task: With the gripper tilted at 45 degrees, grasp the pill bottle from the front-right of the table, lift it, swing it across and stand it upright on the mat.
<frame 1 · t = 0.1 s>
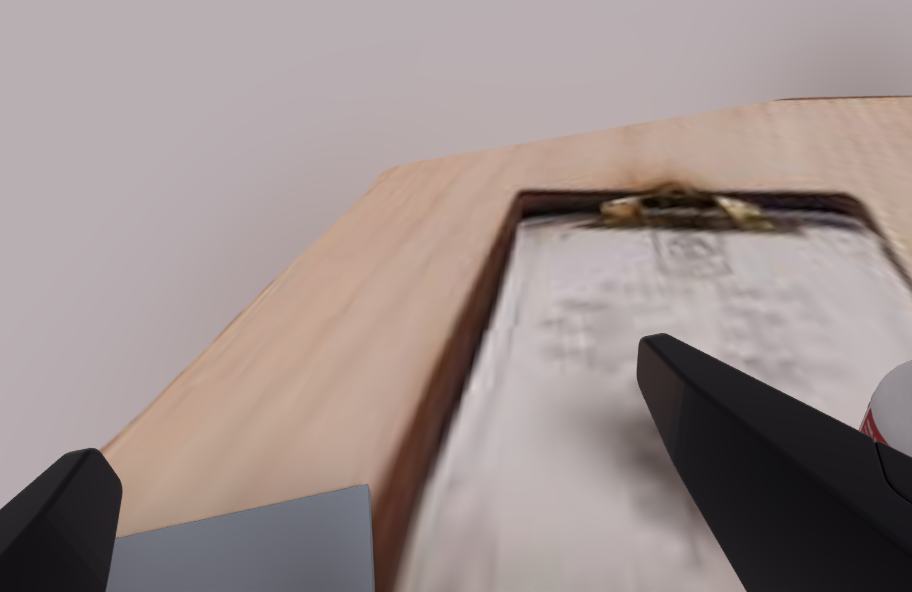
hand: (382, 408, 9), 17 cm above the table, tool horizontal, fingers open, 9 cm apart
pill bottle: (905, 569, 22), on the table
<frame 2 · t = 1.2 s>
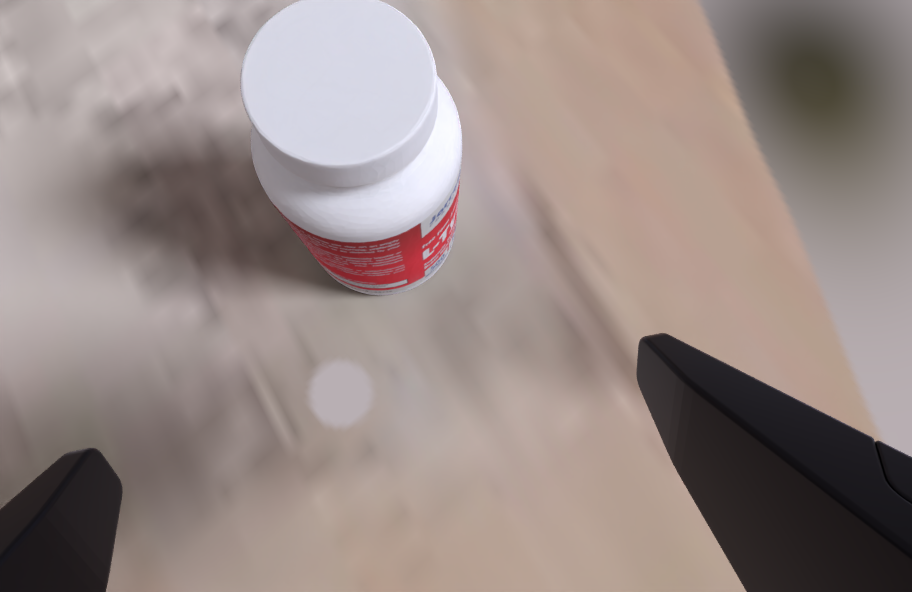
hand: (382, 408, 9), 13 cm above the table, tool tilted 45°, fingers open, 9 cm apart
pill bottle: (384, 229, 24), on the table
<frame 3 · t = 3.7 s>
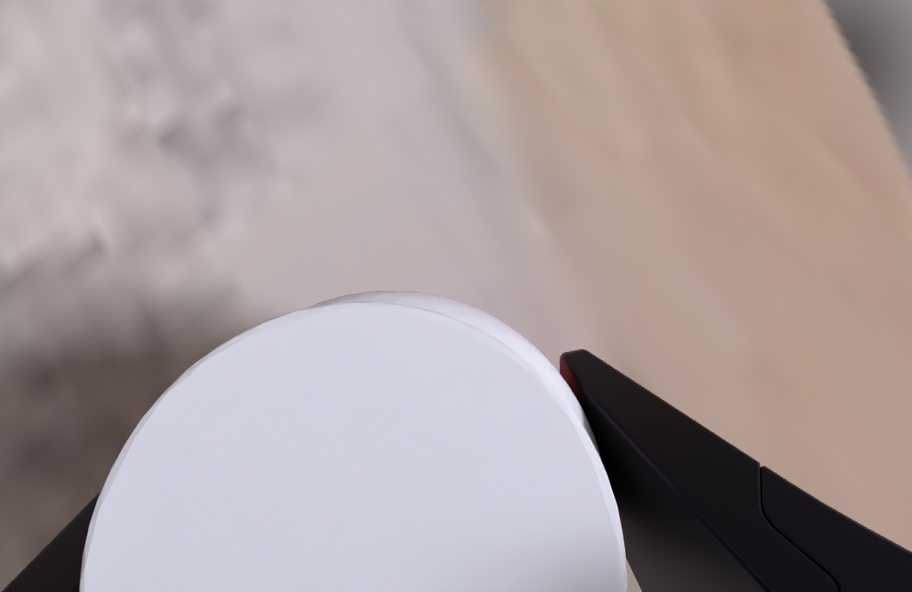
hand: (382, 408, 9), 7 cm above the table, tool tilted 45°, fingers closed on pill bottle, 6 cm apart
pill bottle: (414, 460, 16), on the table, touching gripper
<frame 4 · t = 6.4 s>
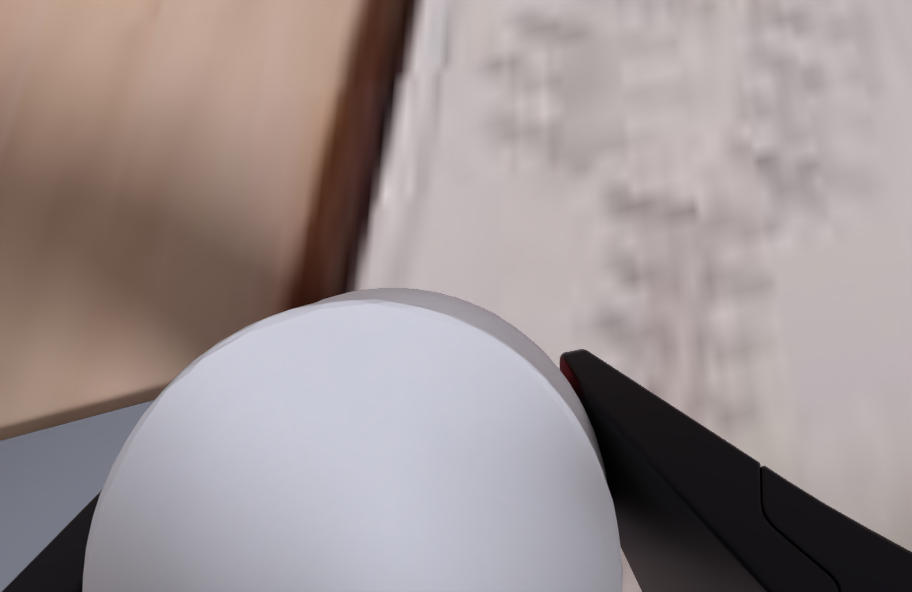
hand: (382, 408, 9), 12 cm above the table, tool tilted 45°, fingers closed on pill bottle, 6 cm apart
pill bottle: (419, 456, 16), point 5 cm above the table, touching gripper
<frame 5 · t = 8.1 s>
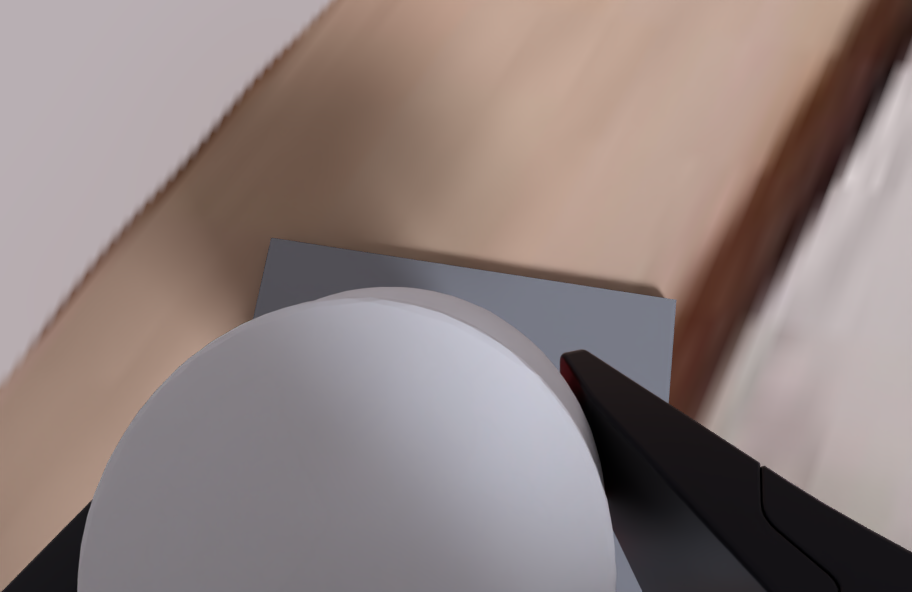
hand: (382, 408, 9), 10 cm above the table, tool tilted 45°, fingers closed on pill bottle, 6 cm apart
mat: (442, 478, 18), on the table
pill bottle: (418, 455, 16), point 3 cm above the table, touching gripper
when the fingers open (8 cm above the table, at t = 9.3 s): pill bottle stays where it is, resting on mat.
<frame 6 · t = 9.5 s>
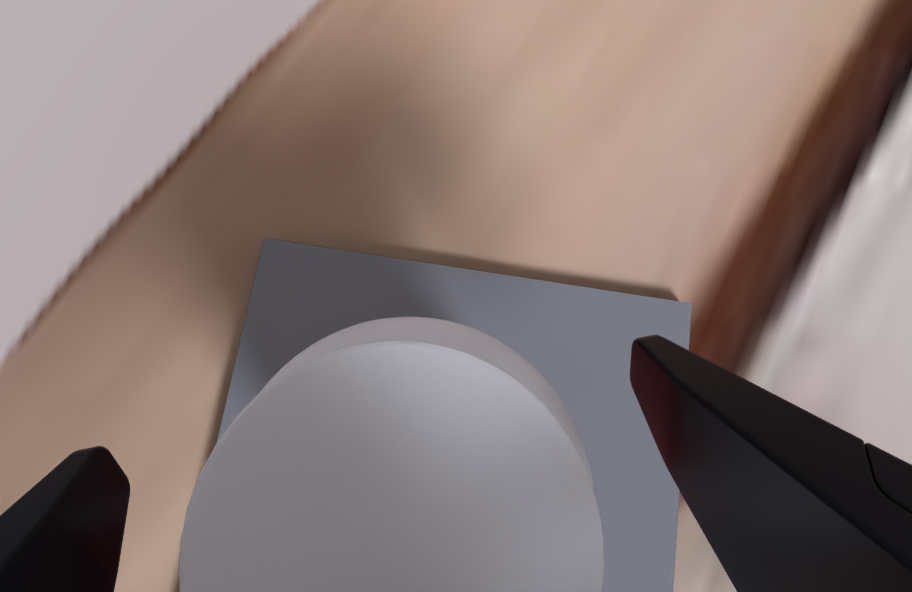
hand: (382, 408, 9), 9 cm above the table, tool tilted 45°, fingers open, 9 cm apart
mat: (444, 492, 17), on the table
pill bottle: (421, 458, 17), resting on mat
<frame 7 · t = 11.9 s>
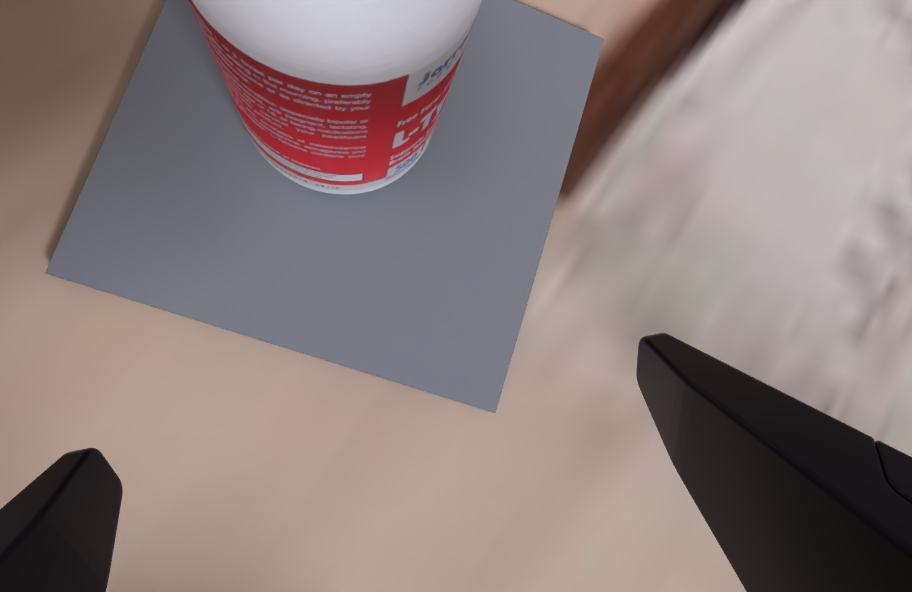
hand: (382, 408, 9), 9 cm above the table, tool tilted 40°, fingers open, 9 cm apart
mat: (357, 148, 19), on the table
pill bottle: (341, 109, 19), resting on mat
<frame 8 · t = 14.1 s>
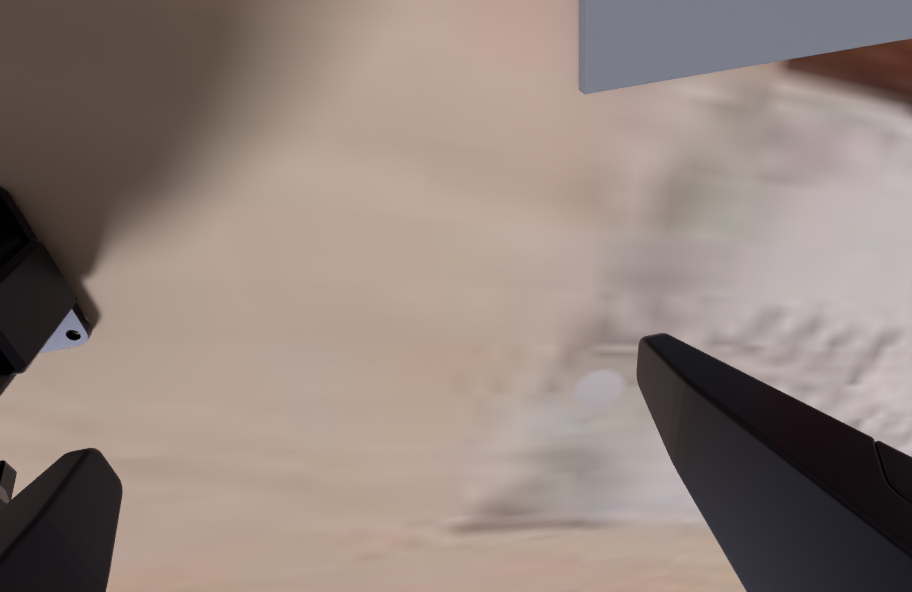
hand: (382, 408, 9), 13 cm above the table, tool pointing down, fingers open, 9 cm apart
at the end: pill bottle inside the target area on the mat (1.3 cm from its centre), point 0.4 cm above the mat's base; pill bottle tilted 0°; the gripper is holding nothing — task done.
